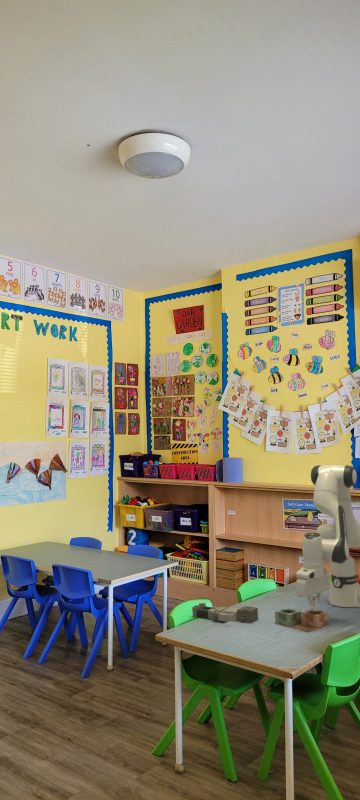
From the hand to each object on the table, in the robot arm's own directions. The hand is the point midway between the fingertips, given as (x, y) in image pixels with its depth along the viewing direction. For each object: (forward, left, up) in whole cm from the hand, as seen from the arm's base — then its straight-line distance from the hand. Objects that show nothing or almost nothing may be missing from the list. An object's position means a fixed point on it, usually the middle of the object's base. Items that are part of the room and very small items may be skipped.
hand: (314, 603), depth 248 cm
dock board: (+4, -4, -10) cm, 12 cm away
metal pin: (0, 0, -7) cm, 7 cm away
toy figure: (+19, -35, -11) cm, 42 cm away
